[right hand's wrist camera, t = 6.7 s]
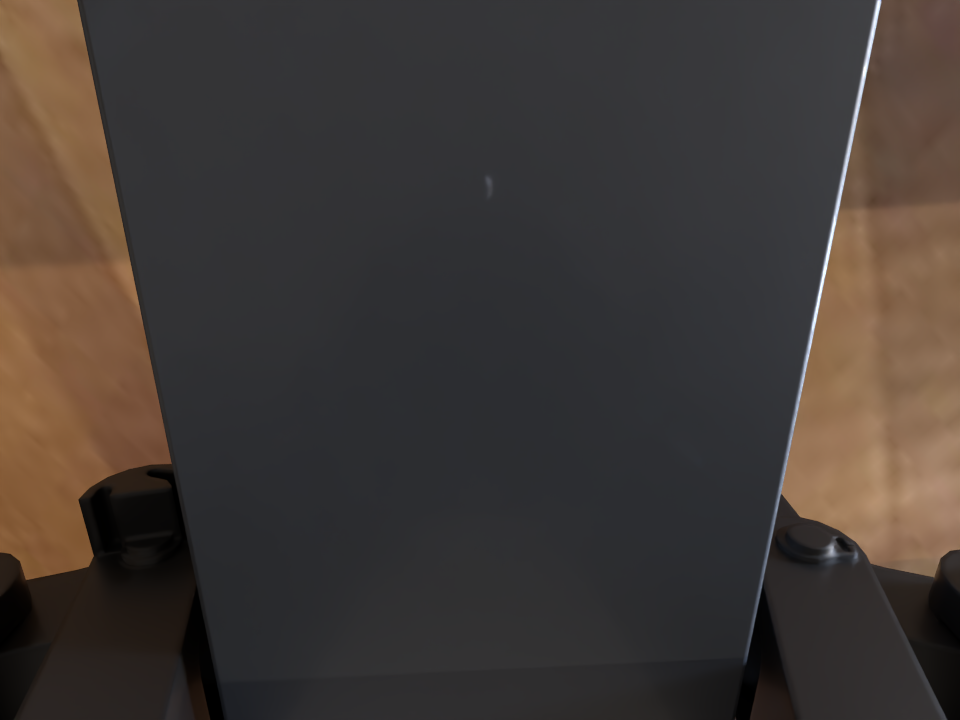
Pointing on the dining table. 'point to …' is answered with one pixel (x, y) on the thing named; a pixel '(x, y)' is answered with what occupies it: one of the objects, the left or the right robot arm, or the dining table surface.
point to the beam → (479, 333)
